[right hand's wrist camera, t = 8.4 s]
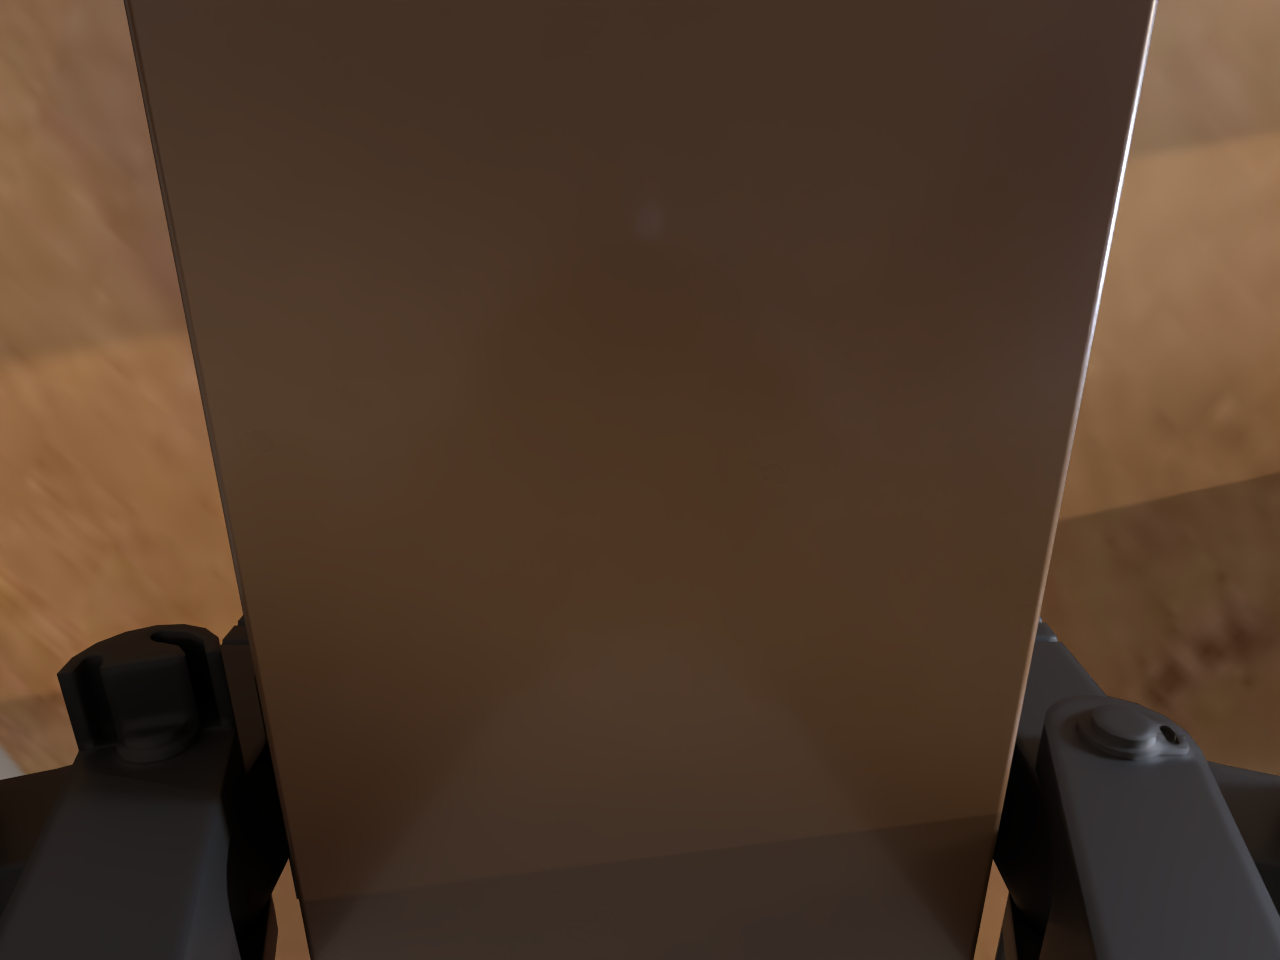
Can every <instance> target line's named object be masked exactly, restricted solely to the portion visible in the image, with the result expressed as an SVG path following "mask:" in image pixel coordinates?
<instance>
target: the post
mask: <svg viewBox="0 0 1280 960" xmlns="http://www.w3.org/2000/svg"><path fill="white" fill-rule="evenodd" d="M124 4H125V10H126V15H127V20H128V25H129V30H130V35H131V40H132V45H133V51H134V56H135V61H136V66H137V71H138V76H139V81H140V87H141V92H142V97H143V102H144V107H145V112H146V117H147V122H148V128H149V133H150V138H151V143H152V148H153V153H154V158H155V163H156V169H157V174H158V179H159V184H160V189H161V194H162V199H163V205H164V210H165V215H166V220H167V225H168V230H169V235H170V240H171V246H172V251H173V256H174V261H175V266H176V271H177V276H178V281H179V287H180V292H181V297H182V302H183V307H184V312H185V317H186V323H187V328H188V333H189V338H190V343H191V348H192V353H193V358H194V364H195V369H196V374H197V379H198V384H199V389H200V394H201V399H202V405H203V410H204V415H205V420H206V425H207V430H208V435H209V441H210V446H211V451H212V456H213V461H214V466H215V471H216V476H217V482H218V487H219V492H220V497H221V502H222V507H223V512H224V517H225V523H226V528H227V533H228V538H229V543H230V548H231V553H232V559H233V564H234V569H235V574H236V579H237V584H238V589H239V594H240V600H241V605H242V610H243V615H244V620H245V625H246V630H247V636H248V641H249V646H250V651H251V656H252V661H253V666H254V671H255V677H256V682H257V687H258V692H259V697H260V702H261V707H262V712H263V718H264V723H265V728H266V733H267V738H268V743H269V748H270V754H271V759H272V764H273V769H274V774H275V779H276V784H277V789H278V795H279V800H280V805H281V810H282V815H283V820H284V825H285V830H286V836H287V841H288V846H289V851H290V856H291V861H292V866H293V872H294V877H295V882H296V887H297V892H298V897H299V902H300V907H301V913H302V918H303V923H304V928H305V933H306V938H307V943H308V948H309V954H310V959H311V960H973V959H974V954H975V949H976V944H977V938H978V933H979V928H980V923H981V918H982V913H983V907H984V902H985V897H986V892H987V887H988V881H989V876H990V871H991V866H992V861H993V856H994V850H995V845H996V840H997V835H998V830H999V824H1000V819H1001V814H1002V809H1003V804H1004V798H1005V793H1006V788H1007V783H1008V778H1009V773H1010V767H1011V762H1012V757H1013V752H1014V747H1015V741H1016V736H1017V731H1018V726H1019V721H1020V715H1021V710H1022V705H1023V700H1024V695H1025V690H1026V684H1027V679H1028V674H1029V669H1030V664H1031V658H1032V653H1033V648H1034V643H1035V638H1036V632H1037V627H1038V622H1039V617H1040V612H1041V607H1042V601H1043V596H1044V591H1045V586H1046V581H1047V575H1048V570H1049V565H1050V560H1051V555H1052V549H1053V544H1054V539H1055V534H1056V529H1057V524H1058V518H1059V513H1060V508H1061V503H1062V498H1063V492H1064V487H1065V482H1066V477H1067V472H1068V467H1069V461H1070V456H1071V451H1072V446H1073V441H1074V435H1075V430H1076V425H1077V420H1078V415H1079V409H1080V404H1081V399H1082V394H1083V389H1084V384H1085V378H1086V373H1087V368H1088V363H1089V358H1090V352H1091V347H1092V342H1093V337H1094V332H1095V326H1096V321H1097V316H1098V311H1099V306H1100V301H1101V295H1102V290H1103V285H1104V280H1105V275H1106V269H1107V264H1108V259H1109V254H1110V249H1111V243H1112V238H1113V233H1114V228H1115V223H1116V218H1117V212H1118V207H1119V202H1120V197H1121V192H1122V186H1123V181H1124V176H1125V171H1126V166H1127V160H1128V155H1129V150H1130V145H1131V140H1132V135H1133V129H1134V124H1135V119H1136V114H1137V109H1138V103H1139V98H1140V93H1141V88H1142V83H1143V78H1144V72H1145V67H1146V62H1147V57H1148V52H1149V46H1150V41H1151V36H1152V31H1153V26H1154V20H1155V15H1156V10H1157V5H1158V0H124Z"/></svg>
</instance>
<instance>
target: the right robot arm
mask: <svg viewBox="0 0 1280 960" xmlns="http://www.w3.org/2000/svg"><path fill="white" fill-rule="evenodd" d="M57 676H58V680H59V683H60V687H61V690H62V694H63V697H64V700H65V704H66V707H67V711H68V714H69V718H70V721H71V725H72V728H73V731H74V735H75V738H76V742H77V745H78V749H79V752H78V754H77V756H76V759H75V761H74V763H73V765H69V766H65V767H62V768H58V769H53V770H48V771H43V772H38V773H33V774H28V775H23V776H18V777H13V778H8V779H3V780H0V960H275V953H276V944H277V935H278V927H277V920H276V914H275V909H274V904H273V899H272V891H273V889H274V887H275V885H276V883H277V881H278V879H279V877H280V875H281V873H282V871H283V869H284V867H285V865H286V863H287V861H288V859H289V861H290V866H291V871H292V877H293V882H294V887H295V892H296V897H297V899H299V897H298V892H297V887H296V882H295V877H294V872H293V866H292V861H291V856H290V851H289V846H288V841H287V836H286V830H285V825H284V820H283V815H282V810H281V805H280V800H279V795H278V789H277V784H276V779H275V774H274V769H273V764H272V759H271V754H270V748H269V743H268V738H267V733H266V728H265V723H264V718H263V712H262V707H261V702H260V697H259V692H258V687H257V682H256V677H255V671H254V666H253V661H252V656H251V651H250V646H249V641H248V636H247V630H246V625H245V620H244V615H243V616H242V617H241V618H240V620H239V621H238V626H234V627H233V628H232V629H231V630H230V632H229V633H228V634H227V635H226V636H225V638H224V639H223V643H222V645H220V643H219V638H218V637H217V636H216V635H214V634H213V633H211V632H210V631H209V630H207V629H206V628H201V627H196V626H191V625H186V624H175V625H155V626H151V627H146V628H142V629H137V630H132V631H128V632H124V633H122V634H119V635H116V636H114V637H111V638H108V639H106V640H103V641H101V642H98V643H96V644H94V645H92V646H91V647H89V648H87V649H86V650H84V651H83V652H81V653H79V654H78V655H76V656H74V657H73V658H71V659H70V661H69V662H68V663H67V664H66V665H65V666H64V667H63V668H62V669H61V670H60V671H59V672H58V673H57ZM993 860H994V862H995V864H996V866H997V868H998V870H999V872H1000V874H1001V876H1002V878H1003V880H1004V882H1005V884H1006V886H1007V888H1008V890H1009V894H1008V899H1007V904H1006V909H1005V914H1004V918H1003V923H1002V928H1001V933H1000V938H999V943H998V947H997V952H996V957H995V960H1280V776H1276V775H1271V774H1266V773H1261V772H1256V771H1251V770H1246V769H1241V768H1236V767H1231V766H1226V765H1222V764H1218V763H1214V762H1210V761H1206V759H1205V757H1204V755H1203V753H1202V751H1201V749H1200V748H1199V746H1198V745H1197V744H1196V743H1195V741H1194V740H1193V739H1192V737H1191V736H1190V735H1189V734H1188V732H1187V731H1185V730H1184V729H1182V728H1181V727H1180V726H1178V725H1177V724H1175V723H1174V722H1172V721H1171V720H1170V719H1168V718H1167V717H1165V716H1164V715H1162V714H1159V713H1157V712H1155V711H1153V710H1150V709H1148V708H1146V707H1144V706H1141V705H1139V704H1137V703H1133V702H1129V701H1125V700H1121V699H1117V698H1113V697H1109V696H1106V695H1105V693H1104V692H1103V691H1102V690H1101V689H1100V687H1099V686H1098V685H1097V684H1096V683H1095V681H1094V680H1093V679H1092V678H1091V677H1090V675H1089V674H1088V673H1087V672H1086V671H1085V669H1084V668H1083V667H1082V666H1081V665H1080V663H1079V662H1078V661H1077V660H1076V659H1075V657H1074V656H1073V655H1072V654H1071V653H1070V651H1069V650H1068V649H1067V648H1066V647H1065V645H1064V644H1063V643H1062V642H1058V640H1057V636H1056V635H1055V633H1054V632H1053V631H1052V630H1051V629H1050V627H1049V626H1048V625H1047V624H1046V623H1042V618H1041V617H1039V622H1038V627H1037V632H1036V638H1035V643H1034V648H1033V653H1032V658H1031V664H1030V669H1029V674H1028V679H1027V684H1026V690H1025V695H1024V700H1023V705H1022V710H1021V715H1020V721H1019V726H1018V731H1017V736H1016V741H1015V747H1014V752H1013V757H1012V762H1011V767H1010V773H1009V778H1008V783H1007V788H1006V793H1005V798H1004V804H1003V809H1002V814H1001V819H1000V824H999V830H998V835H997V840H996V845H995V850H994V856H993Z"/></svg>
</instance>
